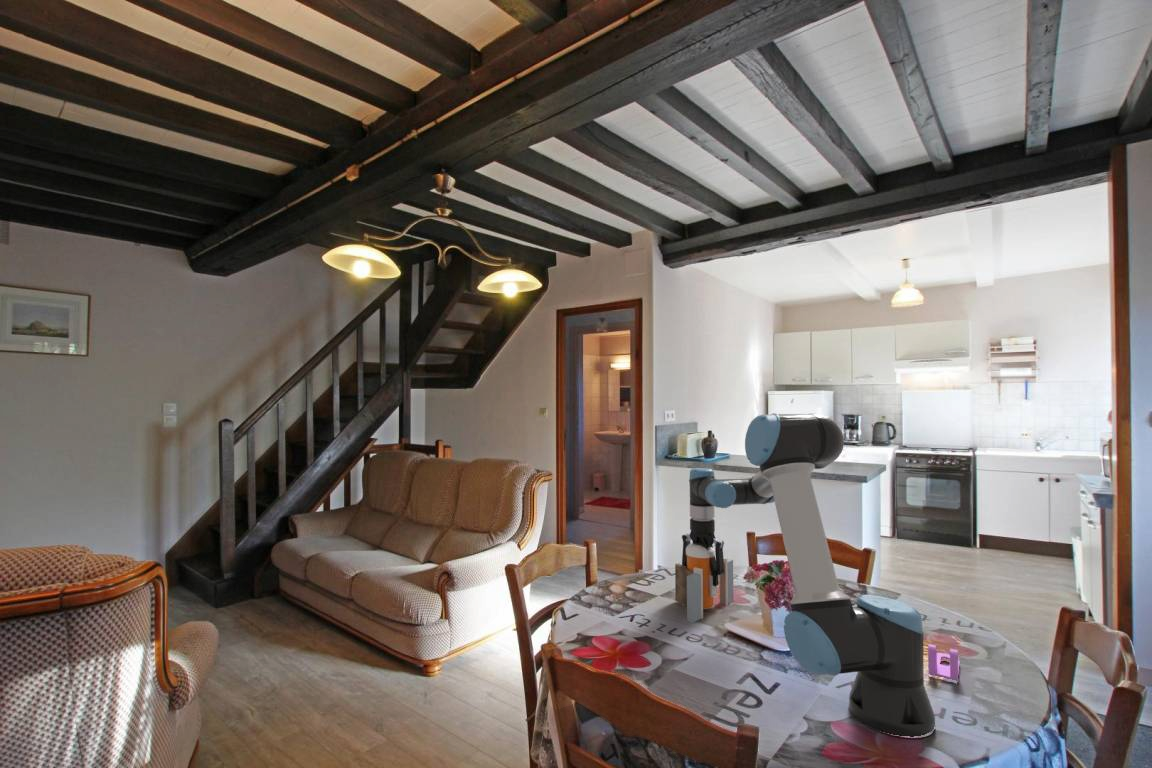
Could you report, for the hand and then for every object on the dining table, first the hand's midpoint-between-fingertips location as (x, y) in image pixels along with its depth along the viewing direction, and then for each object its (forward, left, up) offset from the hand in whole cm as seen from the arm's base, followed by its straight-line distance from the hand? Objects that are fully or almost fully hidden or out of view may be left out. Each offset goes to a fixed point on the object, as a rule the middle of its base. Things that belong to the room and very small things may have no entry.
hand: (703, 592), depth 168 cm
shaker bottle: (0, +1, -4) cm, 4 cm away
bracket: (+6, -62, -5) cm, 62 cm away
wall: (0, -3, -5) cm, 5 cm away
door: (-3, +2, -4) cm, 6 cm away
